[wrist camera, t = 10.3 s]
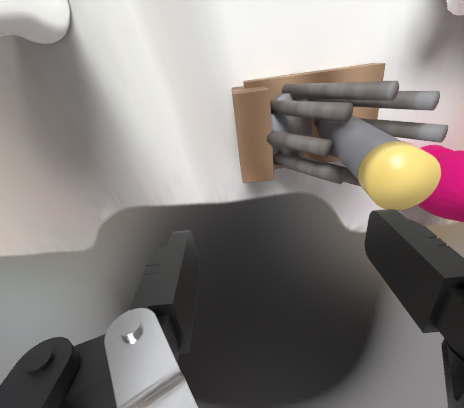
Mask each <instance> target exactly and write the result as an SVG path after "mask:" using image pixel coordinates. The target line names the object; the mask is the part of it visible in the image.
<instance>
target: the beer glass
mask: <svg viewBox="0 0 464 408" xmlns="http://www.w3.org/2000/svg"><path fill="white" fill-rule="evenodd" d="M69 24H70V8H69V3H68V0H0V36H6V35H18V36H20V37H23V38H25V39H28V40H30V41H33V42H36V43H41V44H51V43H54V42H57V41H59V40H60V39H61V38H63V36H64V35H65V34H66V32H67V30H68V28H69Z"/></svg>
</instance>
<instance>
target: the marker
mask: <svg viewBox="0 0 464 408" xmlns="http://www.w3.org/2000/svg"><path fill="white" fill-rule="evenodd" d="M318 132H319V136H320V137H321V138H322V139H328V140H332V142H333V150H332V151H333V152H334V153H335V155H336V156H337V157H338V158H339V159H340V160H341V161H342V163H343V164H344V165H345V166H346V167H347V168H348V169H349V171H350V172H351V173H352V174H353V175H354V176H355V177H356V178H357V180H358V181H359V183H360V185H361V187H362V188H363V189H364V190H365V192H366V193H367V194H368V195H369V196H370V197H371V199H372V200H373V201H374V202H375V203H376V204H377V205H378V206H380V207H382V208H384V209H396V210H404V209H408V208H411V207H413V206H416V205H418V204H420V203H421V202H423V201H424V200H425V199H427V198H428V197H429V196H430V195H431V194H432V193H433V192H434V190H435V189H436V187H437V185H438V183H439V181H440V177H441V168H440V164H439V162H438V161H437V159H436V158H435V157H434V156H432V155H431V154H429V153H427V152H425V151H423V150H422V149H420V148H418V147H416V146H414V145H412V144H410V143H408V142H404V141H400V140H398V139H396V138H394V137H393V136H391V135H389V134H387V133H385V132H383V131H381V130H380V129H378V128H376V127H374V126H372V125H370V124H369V123H367V122H365V121H363V120H361V119H359V118H357V117H356V116H354V115H352V117H351V118H350V120H349V121H336V120H326V119H321V121H320V123H319V126H318Z"/></svg>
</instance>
